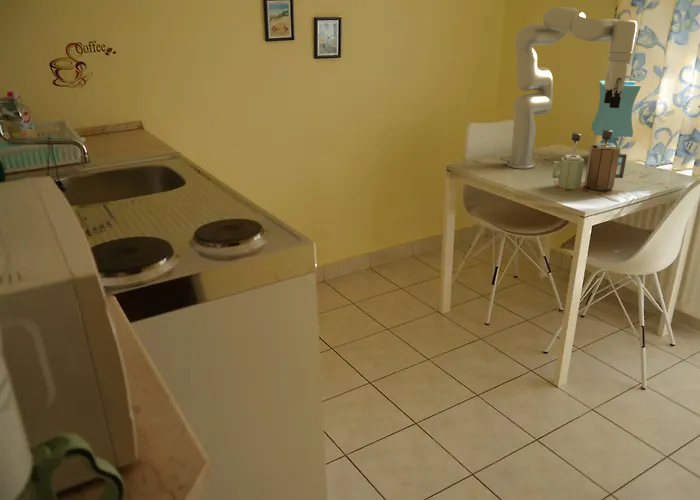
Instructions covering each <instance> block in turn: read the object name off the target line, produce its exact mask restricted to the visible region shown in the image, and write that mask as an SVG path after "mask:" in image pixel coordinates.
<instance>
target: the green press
mask: <svg viewBox="0 0 700 500" xmlns="http://www.w3.org/2000/svg"><path fill="white" fill-rule="evenodd" d="M560 159H561V161H560V160H554V161H553V167H552V176H551V178H552V179H558V180H557V181H558V183H559V184H558V186H559V187H561V188H564V189H578V188H580V185H581V182H582V179H583V170H584V166H585V165H584V164H585V159H584V158H582V157H581V155H580V154H575V157H572V154H565V155H564V156H563V157H561V158H560ZM558 166H559V174H557V167H558Z"/></svg>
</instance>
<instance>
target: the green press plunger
mask: <svg viewBox="0 0 700 500" xmlns="http://www.w3.org/2000/svg"><path fill="white" fill-rule="evenodd" d="M581 135H582V133H578V132H572V134H571V141H573V145H572V147H573V148H572V153H571V155H572V157H575V155H576V150H577V142H579V141H581Z"/></svg>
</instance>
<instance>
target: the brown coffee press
mask: <svg viewBox="0 0 700 500" xmlns="http://www.w3.org/2000/svg"><path fill="white" fill-rule="evenodd" d="M603 149H606V150H603ZM620 152H621V148H620V146H618V147H617V146H615V145H614V144H613V143H607V146H604V143H600V142H594V144H592V145H589V152H588V159H587V165H586V171H585V177H584V182H585V188H587V189H589V190H593V191H610V190H612V188H613V187H614V185H615V181H616V180H615V179H623V178H624V172H625V168H626V162H627V154H626V153H621V154H619V153H620ZM619 157H620V158H622V162H621V165H620V168H619V173H617V167H618V165H619V164H618V158H619Z"/></svg>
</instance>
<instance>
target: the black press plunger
mask: <svg viewBox="0 0 700 500" xmlns="http://www.w3.org/2000/svg"><path fill="white" fill-rule="evenodd" d="M612 132H613V131H612V130H603V133H602V136H601V140H602V139H605V140H604V146H607V143H608V140H609V139H611V138H612ZM603 150H606V149H603Z"/></svg>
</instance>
